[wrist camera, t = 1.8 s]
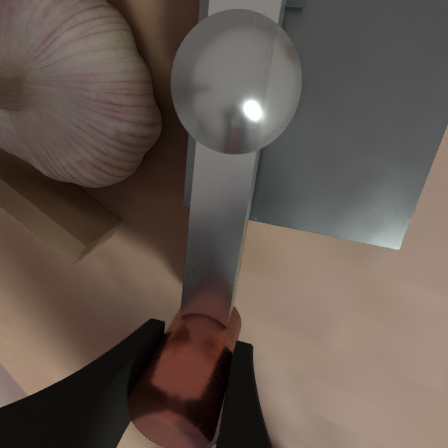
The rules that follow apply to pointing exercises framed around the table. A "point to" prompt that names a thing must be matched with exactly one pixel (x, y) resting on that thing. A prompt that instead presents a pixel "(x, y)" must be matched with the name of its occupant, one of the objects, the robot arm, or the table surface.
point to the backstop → (54, 209)
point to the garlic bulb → (74, 91)
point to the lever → (217, 206)
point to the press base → (355, 119)
